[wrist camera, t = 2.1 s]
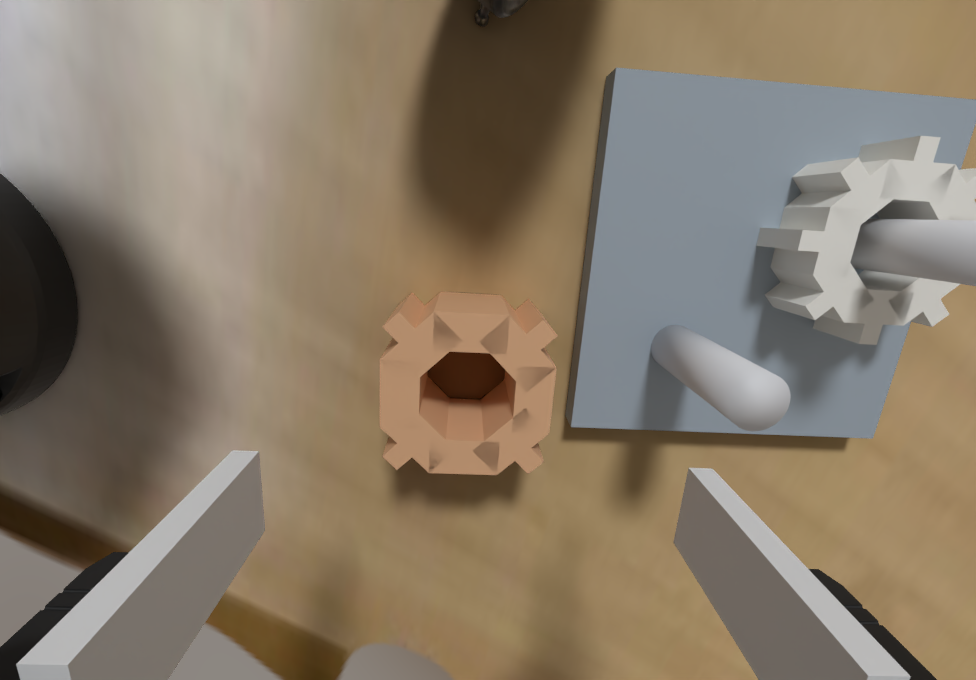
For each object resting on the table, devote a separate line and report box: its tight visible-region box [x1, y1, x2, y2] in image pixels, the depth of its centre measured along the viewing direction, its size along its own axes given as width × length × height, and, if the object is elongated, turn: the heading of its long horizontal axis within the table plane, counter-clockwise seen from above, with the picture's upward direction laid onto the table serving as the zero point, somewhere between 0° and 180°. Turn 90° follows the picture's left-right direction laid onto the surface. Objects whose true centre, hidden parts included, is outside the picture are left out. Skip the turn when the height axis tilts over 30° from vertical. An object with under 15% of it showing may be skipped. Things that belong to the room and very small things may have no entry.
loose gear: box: [380, 292, 558, 475], centre depth 23 cm, size 8×8×5 cm
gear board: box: [565, 68, 976, 438], centre depth 21 cm, size 18×18×9 cm
